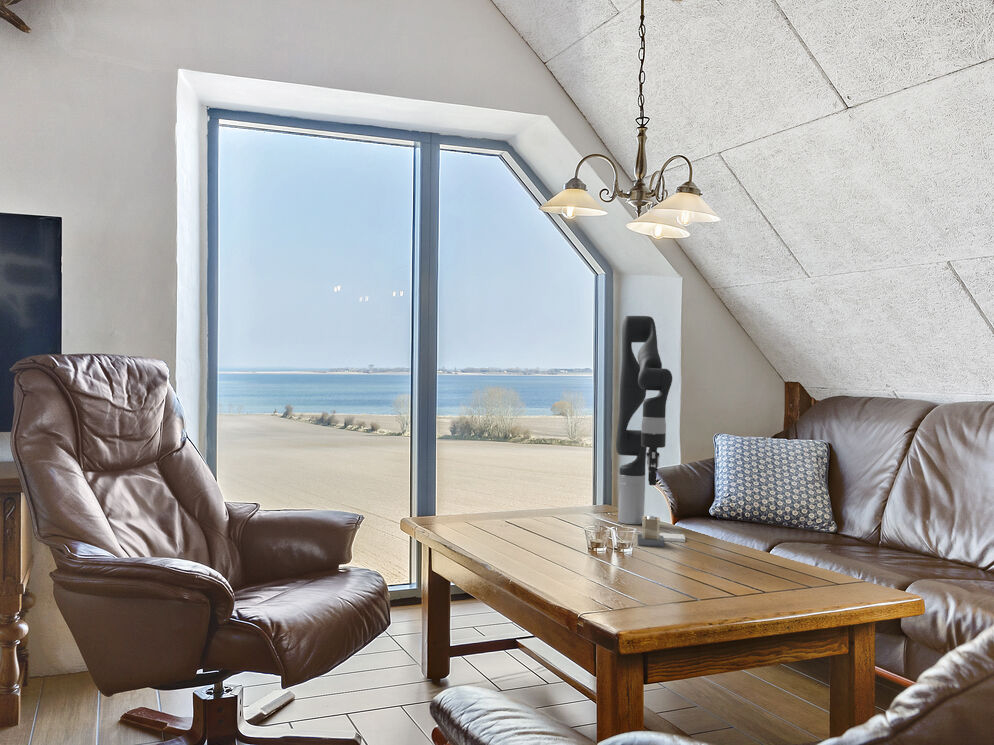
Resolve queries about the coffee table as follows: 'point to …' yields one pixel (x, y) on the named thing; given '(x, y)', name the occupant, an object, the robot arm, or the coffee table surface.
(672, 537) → the tile
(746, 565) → the coffee table surface
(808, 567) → the coffee table surface
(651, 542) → the pin stand
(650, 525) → the beige upright block
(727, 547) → the coffee table surface
